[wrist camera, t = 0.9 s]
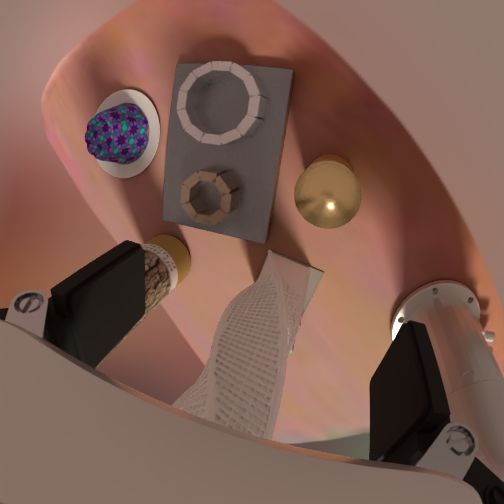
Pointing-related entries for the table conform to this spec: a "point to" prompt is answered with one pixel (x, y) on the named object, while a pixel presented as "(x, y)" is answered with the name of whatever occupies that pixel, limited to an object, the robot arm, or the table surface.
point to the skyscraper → (253, 349)
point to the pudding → (123, 133)
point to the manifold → (226, 147)
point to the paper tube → (162, 270)
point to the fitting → (328, 192)
